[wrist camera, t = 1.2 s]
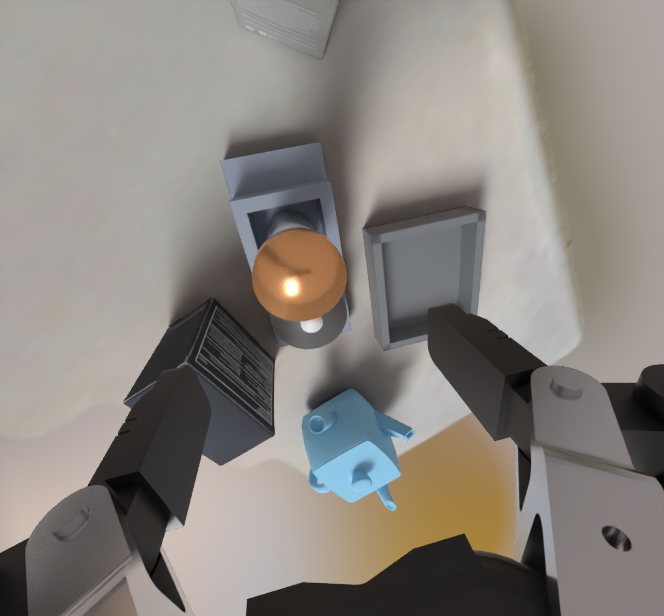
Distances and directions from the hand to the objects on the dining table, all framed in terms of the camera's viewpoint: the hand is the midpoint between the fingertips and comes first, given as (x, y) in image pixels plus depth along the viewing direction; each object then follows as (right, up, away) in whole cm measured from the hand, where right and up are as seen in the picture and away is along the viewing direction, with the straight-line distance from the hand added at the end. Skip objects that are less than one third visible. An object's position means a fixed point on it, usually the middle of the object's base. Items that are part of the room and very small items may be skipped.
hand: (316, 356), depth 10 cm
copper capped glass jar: (-3, +8, +16) cm, 18 cm away
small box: (-11, -2, +22) cm, 25 cm away
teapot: (+3, -13, +31) cm, 33 cm away
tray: (+10, +5, +22) cm, 25 cm away
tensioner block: (-3, +7, +19) cm, 20 cm away
